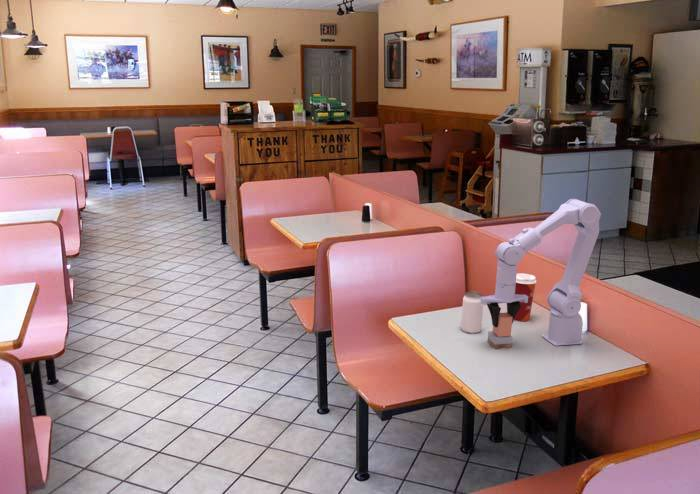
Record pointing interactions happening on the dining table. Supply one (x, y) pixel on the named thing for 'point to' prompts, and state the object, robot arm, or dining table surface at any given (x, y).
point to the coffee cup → (525, 287)
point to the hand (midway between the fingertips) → (502, 325)
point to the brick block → (503, 325)
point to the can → (472, 313)
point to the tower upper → (499, 338)
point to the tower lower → (499, 345)
